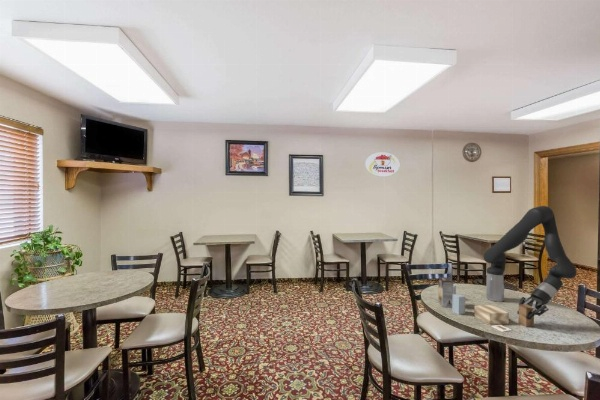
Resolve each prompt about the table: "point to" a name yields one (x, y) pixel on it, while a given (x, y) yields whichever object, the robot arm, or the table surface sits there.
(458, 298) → the slate block
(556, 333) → the table surface
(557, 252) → the robot arm
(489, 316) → the birch block
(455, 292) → the medicine box
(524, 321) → the walnut block
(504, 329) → the tile
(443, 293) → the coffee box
